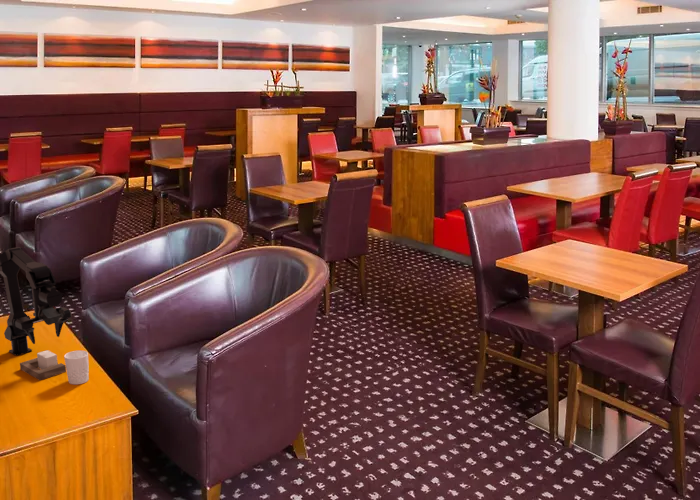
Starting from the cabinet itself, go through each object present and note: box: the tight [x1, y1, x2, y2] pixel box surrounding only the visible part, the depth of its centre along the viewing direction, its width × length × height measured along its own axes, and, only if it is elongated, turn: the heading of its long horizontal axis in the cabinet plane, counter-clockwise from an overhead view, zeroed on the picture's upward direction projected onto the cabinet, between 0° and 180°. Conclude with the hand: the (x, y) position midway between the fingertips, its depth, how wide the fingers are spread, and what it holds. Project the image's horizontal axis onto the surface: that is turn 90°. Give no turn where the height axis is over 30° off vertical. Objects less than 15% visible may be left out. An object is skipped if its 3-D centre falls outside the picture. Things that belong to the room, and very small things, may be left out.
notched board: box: [19, 357, 67, 381], centre depth 267 cm, size 14×10×2 cm
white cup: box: [63, 350, 90, 385], centre depth 258 cm, size 8×8×10 cm
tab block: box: [36, 349, 59, 370], centre depth 268 cm, size 7×4×6 cm, turn 49°
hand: (46, 340), depth 267 cm, fingers open, 9 cm apart
